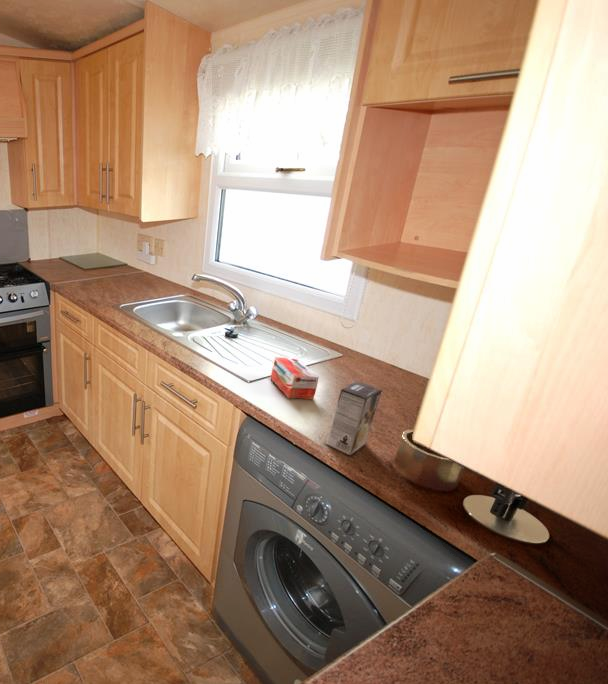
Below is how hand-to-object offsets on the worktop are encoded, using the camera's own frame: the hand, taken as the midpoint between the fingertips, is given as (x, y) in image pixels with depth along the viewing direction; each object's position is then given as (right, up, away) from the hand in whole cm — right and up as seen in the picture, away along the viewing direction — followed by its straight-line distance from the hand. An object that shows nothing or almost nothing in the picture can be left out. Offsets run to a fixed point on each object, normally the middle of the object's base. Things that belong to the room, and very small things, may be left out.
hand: (506, 510), depth 93 cm
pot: (-7, +3, +15) cm, 16 cm away
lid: (0, -2, +1) cm, 2 cm away
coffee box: (-19, +8, +25) cm, 33 cm away
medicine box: (-21, +19, +55) cm, 62 cm away
